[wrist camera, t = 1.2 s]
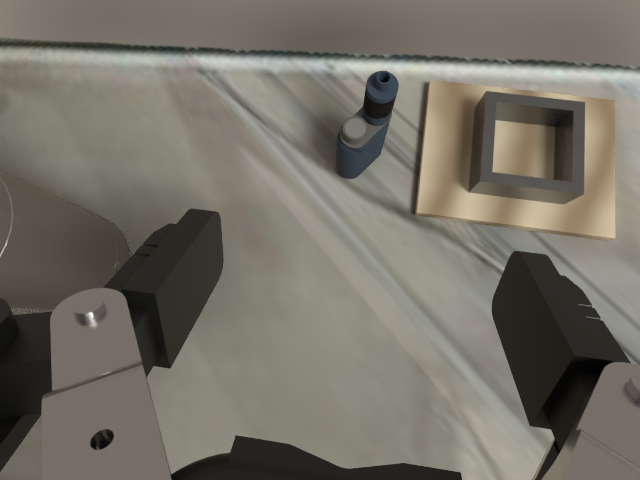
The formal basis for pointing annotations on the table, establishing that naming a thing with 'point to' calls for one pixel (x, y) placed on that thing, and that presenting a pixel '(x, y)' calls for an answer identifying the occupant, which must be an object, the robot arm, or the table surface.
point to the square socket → (538, 112)
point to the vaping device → (367, 126)
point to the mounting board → (513, 165)
